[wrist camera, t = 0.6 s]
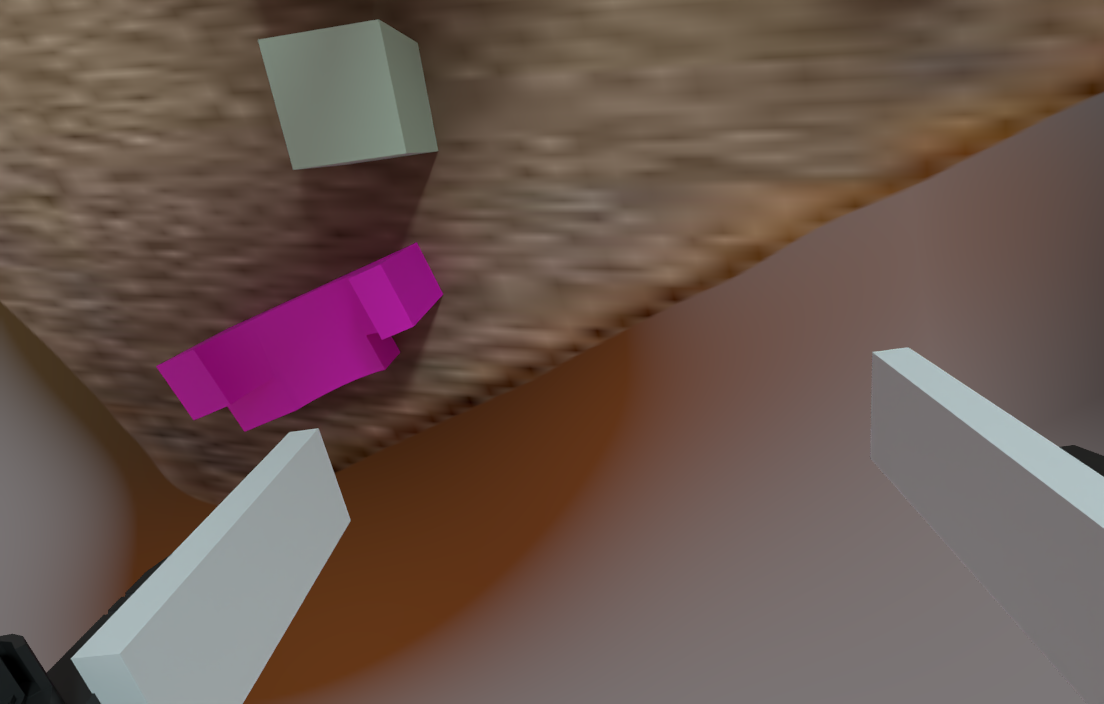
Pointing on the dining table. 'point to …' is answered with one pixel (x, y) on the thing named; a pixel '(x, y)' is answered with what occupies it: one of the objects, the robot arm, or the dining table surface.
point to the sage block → (349, 94)
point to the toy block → (306, 343)
